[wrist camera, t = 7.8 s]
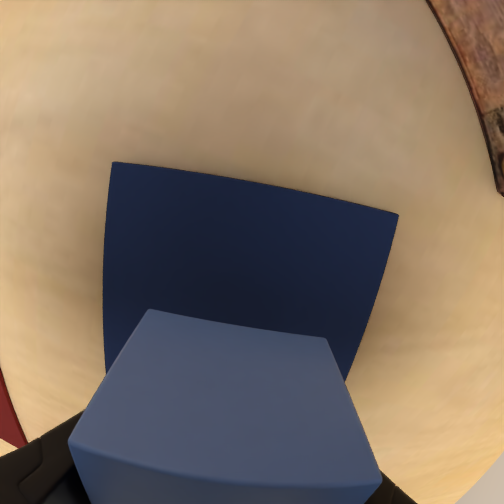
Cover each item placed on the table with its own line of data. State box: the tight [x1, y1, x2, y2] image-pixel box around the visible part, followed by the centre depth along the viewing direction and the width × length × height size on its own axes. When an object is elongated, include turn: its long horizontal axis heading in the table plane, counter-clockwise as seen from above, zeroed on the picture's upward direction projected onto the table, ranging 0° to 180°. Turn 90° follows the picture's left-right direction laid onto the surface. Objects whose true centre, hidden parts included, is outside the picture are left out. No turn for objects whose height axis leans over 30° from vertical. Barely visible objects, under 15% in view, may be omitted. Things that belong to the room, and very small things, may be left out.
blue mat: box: [103, 162, 399, 382], centre depth 14 cm, size 12×12×1 cm
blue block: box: [68, 309, 382, 504], centre depth 7 cm, size 5×5×5 cm
